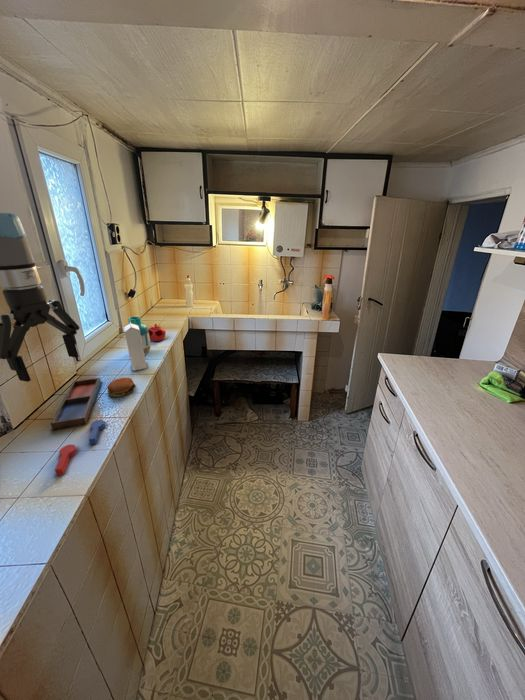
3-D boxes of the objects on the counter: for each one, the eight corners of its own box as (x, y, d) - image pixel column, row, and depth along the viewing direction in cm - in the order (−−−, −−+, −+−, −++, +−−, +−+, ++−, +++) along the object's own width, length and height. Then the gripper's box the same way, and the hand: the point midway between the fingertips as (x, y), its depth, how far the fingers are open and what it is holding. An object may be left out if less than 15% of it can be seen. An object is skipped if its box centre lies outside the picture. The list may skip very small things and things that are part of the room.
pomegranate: (151, 336, 165) (149, 321, 161) (168, 336, 165) (166, 321, 161) (145, 342, 156) (142, 326, 152) (163, 342, 156) (160, 326, 152)
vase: (126, 358, 138) (118, 321, 130) (133, 349, 148) (126, 314, 140) (149, 357, 139) (142, 320, 131) (154, 348, 148) (148, 314, 140)
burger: (103, 395, 109) (100, 385, 107) (121, 383, 117) (118, 373, 115) (124, 400, 106) (121, 389, 104) (140, 387, 114) (138, 377, 112)
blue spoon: (85, 445, 85) (84, 440, 84) (92, 424, 93) (91, 420, 92) (100, 442, 86) (99, 437, 85) (106, 422, 94) (104, 417, 94)
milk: (145, 363, 134) (137, 318, 125) (146, 368, 129) (138, 322, 120) (131, 365, 131) (122, 320, 122) (132, 371, 126) (123, 324, 117)
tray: (52, 429, 91) (50, 423, 90) (75, 386, 115) (73, 381, 114) (86, 423, 94) (84, 417, 93) (101, 382, 117) (99, 377, 116)
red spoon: (51, 476, 74) (49, 471, 73) (63, 450, 83) (61, 445, 82) (68, 473, 75) (66, 467, 75) (78, 447, 84) (76, 442, 83)
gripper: (-31, 301, 53) (11, 395, 62) (80, 277, 75) (100, 350, 84) (-57, 298, 55) (-13, 390, 64) (58, 276, 77) (80, 347, 86)
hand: (51, 367), depth 74 cm, fingers open, 13 cm apart
